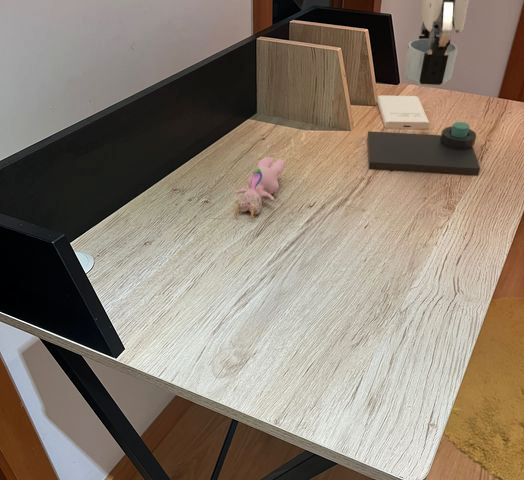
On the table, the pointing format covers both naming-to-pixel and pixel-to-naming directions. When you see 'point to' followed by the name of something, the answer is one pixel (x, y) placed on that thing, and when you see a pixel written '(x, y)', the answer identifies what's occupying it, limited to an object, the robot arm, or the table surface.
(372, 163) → the scale
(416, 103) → the hard drive
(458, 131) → the button
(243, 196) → the pink soft elongated toy
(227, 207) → the table surface
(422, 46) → the bowl
